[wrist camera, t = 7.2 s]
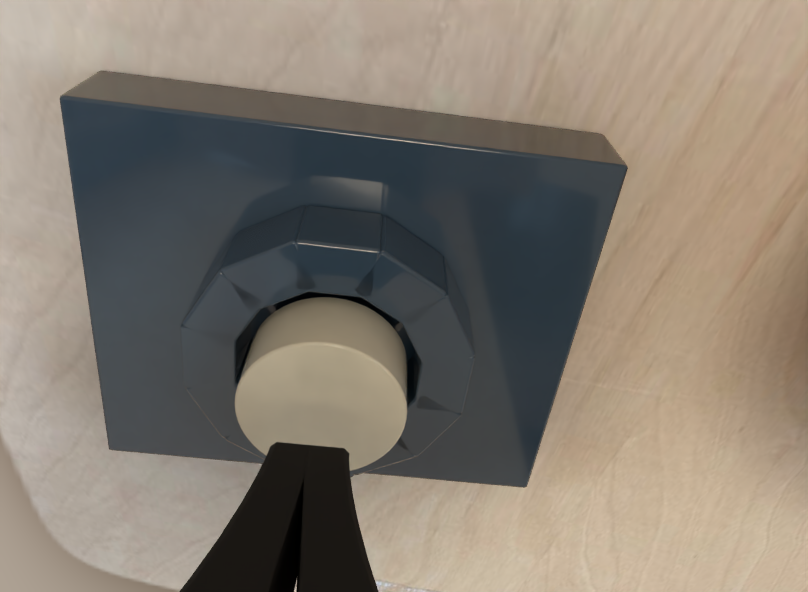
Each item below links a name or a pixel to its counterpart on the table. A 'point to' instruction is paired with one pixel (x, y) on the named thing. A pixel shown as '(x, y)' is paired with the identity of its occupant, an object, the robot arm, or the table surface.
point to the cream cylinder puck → (325, 380)
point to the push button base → (332, 258)
